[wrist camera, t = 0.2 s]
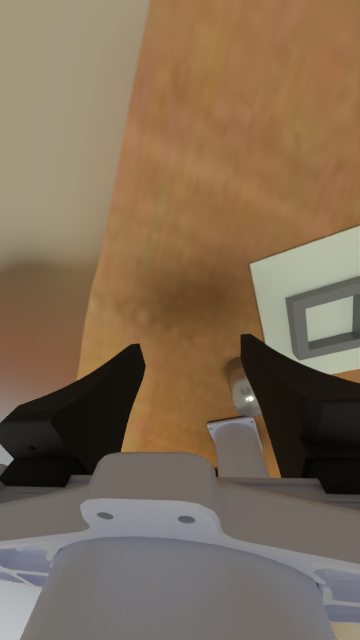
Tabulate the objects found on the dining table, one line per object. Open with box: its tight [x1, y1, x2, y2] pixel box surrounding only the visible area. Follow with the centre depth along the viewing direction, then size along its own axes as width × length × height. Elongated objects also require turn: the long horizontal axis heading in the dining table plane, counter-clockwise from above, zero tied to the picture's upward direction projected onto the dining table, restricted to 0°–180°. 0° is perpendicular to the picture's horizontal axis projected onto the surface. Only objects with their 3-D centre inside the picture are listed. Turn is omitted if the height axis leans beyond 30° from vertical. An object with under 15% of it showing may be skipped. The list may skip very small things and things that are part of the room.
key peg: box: [225, 357, 262, 416], centre depth 22 cm, size 4×4×6 cm
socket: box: [249, 225, 360, 375], centre depth 20 cm, size 18×14×2 cm
